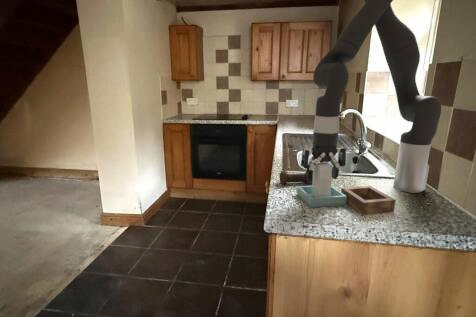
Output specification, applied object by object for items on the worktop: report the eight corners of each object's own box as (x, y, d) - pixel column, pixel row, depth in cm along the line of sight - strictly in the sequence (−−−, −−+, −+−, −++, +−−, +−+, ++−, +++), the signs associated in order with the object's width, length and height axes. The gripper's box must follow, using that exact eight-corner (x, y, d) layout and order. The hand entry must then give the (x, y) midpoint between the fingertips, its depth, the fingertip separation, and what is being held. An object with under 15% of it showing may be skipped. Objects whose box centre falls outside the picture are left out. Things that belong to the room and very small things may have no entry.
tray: (328, 192, 99) (329, 184, 98) (345, 204, 89) (346, 196, 88) (296, 194, 97) (297, 186, 96) (310, 208, 87) (311, 199, 86)
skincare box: (330, 201, 90) (334, 165, 87) (317, 202, 90) (320, 166, 86) (323, 194, 96) (325, 160, 93) (310, 194, 96) (312, 160, 92)
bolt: (318, 187, 109) (281, 188, 107) (314, 178, 112) (278, 178, 110) (323, 178, 105) (284, 178, 103) (319, 168, 108) (281, 168, 106)
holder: (368, 196, 95) (370, 185, 94) (393, 212, 84) (395, 199, 83) (340, 199, 93) (341, 187, 92) (362, 215, 82) (363, 202, 81)
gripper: (340, 127, 92) (335, 174, 96) (299, 129, 89) (296, 177, 93) (353, 131, 85) (348, 181, 89) (309, 133, 82) (306, 185, 86)
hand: (321, 179), depth 91 cm, fingers open, 8 cm apart
